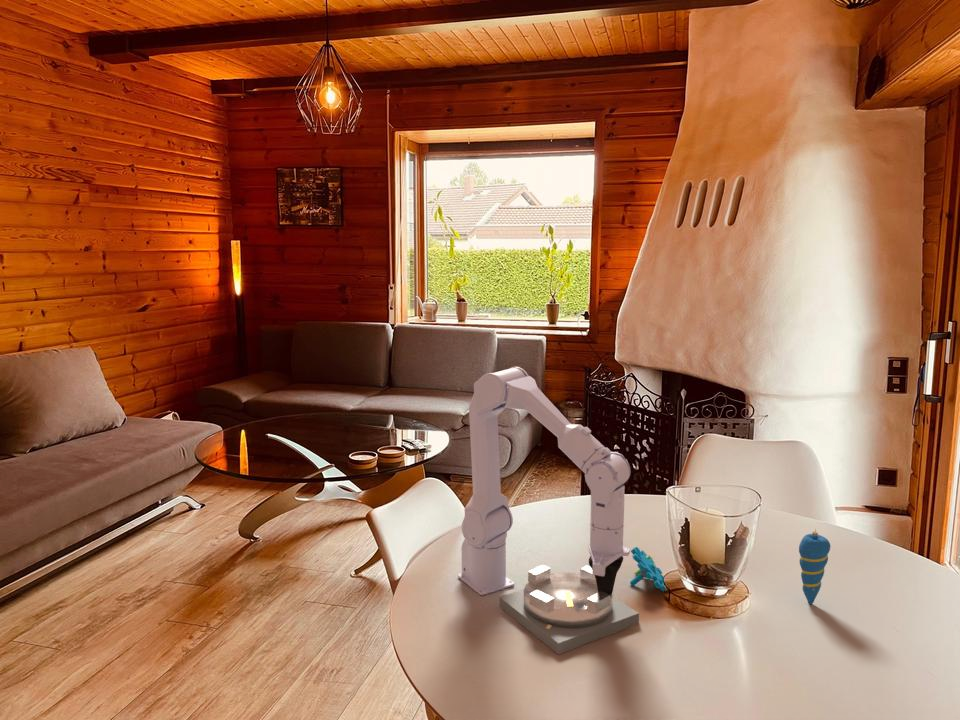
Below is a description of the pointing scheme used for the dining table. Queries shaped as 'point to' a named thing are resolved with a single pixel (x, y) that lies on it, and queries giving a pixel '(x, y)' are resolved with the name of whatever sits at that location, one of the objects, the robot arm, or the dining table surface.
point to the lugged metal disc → (566, 598)
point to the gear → (647, 569)
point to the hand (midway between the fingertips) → (605, 595)
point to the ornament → (813, 563)
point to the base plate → (568, 637)
